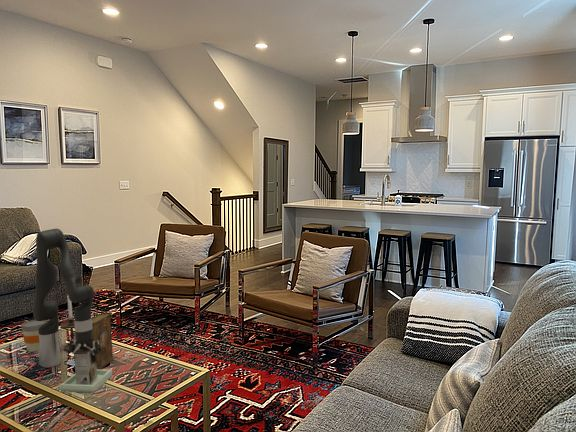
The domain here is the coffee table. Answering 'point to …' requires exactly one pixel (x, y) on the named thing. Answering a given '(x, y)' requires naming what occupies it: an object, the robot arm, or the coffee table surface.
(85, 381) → the coffee box
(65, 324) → the candlestick
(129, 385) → the coffee table surface
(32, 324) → the reusable coffee cup
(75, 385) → the tray
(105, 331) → the book
